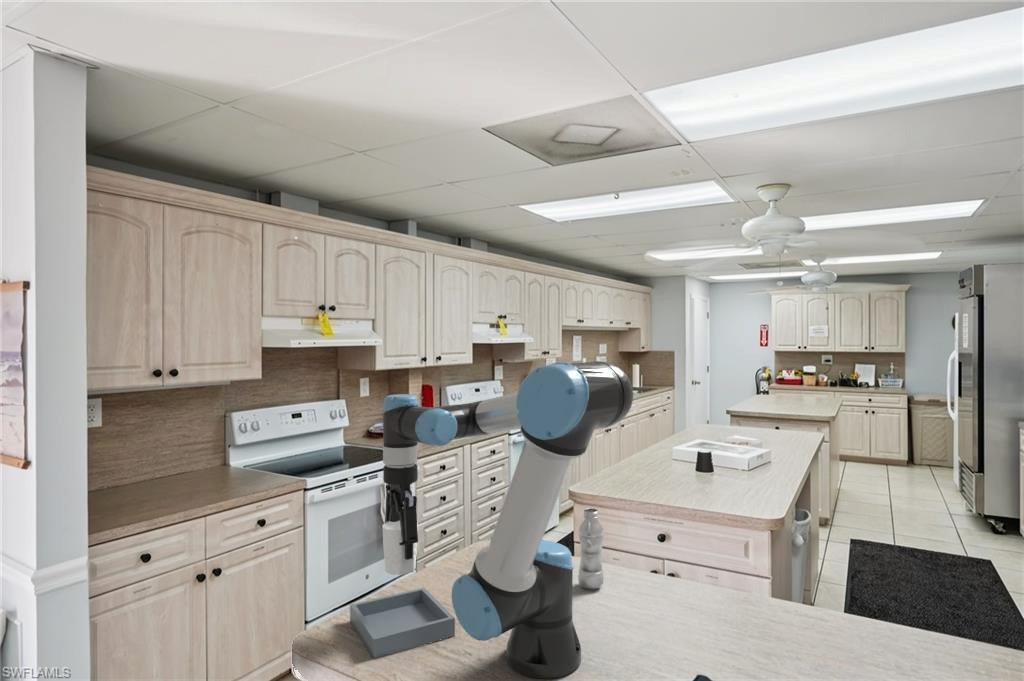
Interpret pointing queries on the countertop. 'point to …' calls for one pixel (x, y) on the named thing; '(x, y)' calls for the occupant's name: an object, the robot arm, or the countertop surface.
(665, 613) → the countertop surface
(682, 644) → the countertop surface
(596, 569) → the plastic bottle
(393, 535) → the white cup
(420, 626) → the bin
